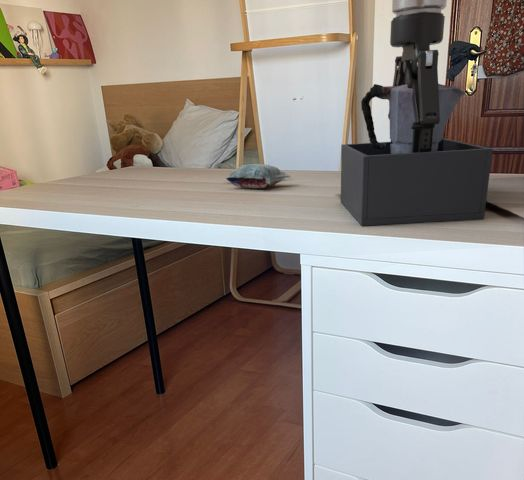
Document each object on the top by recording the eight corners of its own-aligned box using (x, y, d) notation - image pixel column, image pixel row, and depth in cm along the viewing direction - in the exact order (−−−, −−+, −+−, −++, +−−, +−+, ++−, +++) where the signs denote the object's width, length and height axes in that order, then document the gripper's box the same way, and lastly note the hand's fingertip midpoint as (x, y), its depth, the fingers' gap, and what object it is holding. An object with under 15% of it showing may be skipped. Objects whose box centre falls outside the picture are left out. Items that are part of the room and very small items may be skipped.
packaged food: (249, 182, 124) (248, 160, 122) (291, 185, 118) (290, 162, 115) (225, 189, 118) (223, 166, 116) (268, 192, 112) (266, 168, 109)
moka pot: (457, 208, 82) (473, 63, 74) (357, 210, 85) (361, 71, 76) (449, 197, 91) (462, 66, 82) (359, 199, 94) (362, 72, 85)
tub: (440, 196, 97) (446, 138, 93) (483, 218, 80) (493, 148, 75) (340, 202, 97) (341, 144, 93) (361, 226, 80) (363, 156, 75)
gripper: (373, 25, 87) (369, 162, 97) (416, 2, 65) (405, 182, 75) (418, 22, 87) (410, 159, 97) (476, -2, 65) (458, 179, 75)
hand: (408, 169), depth 86 cm, fingers open, 12 cm apart
